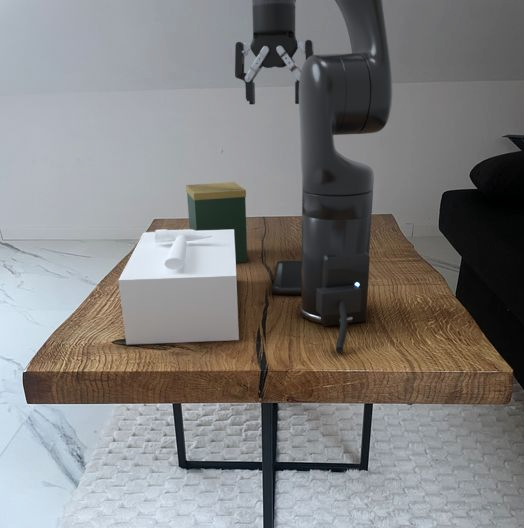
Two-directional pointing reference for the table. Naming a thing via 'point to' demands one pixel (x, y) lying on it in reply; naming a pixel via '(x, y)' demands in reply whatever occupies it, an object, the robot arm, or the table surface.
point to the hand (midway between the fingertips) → (274, 104)
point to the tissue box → (180, 288)
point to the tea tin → (219, 211)
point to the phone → (287, 278)
